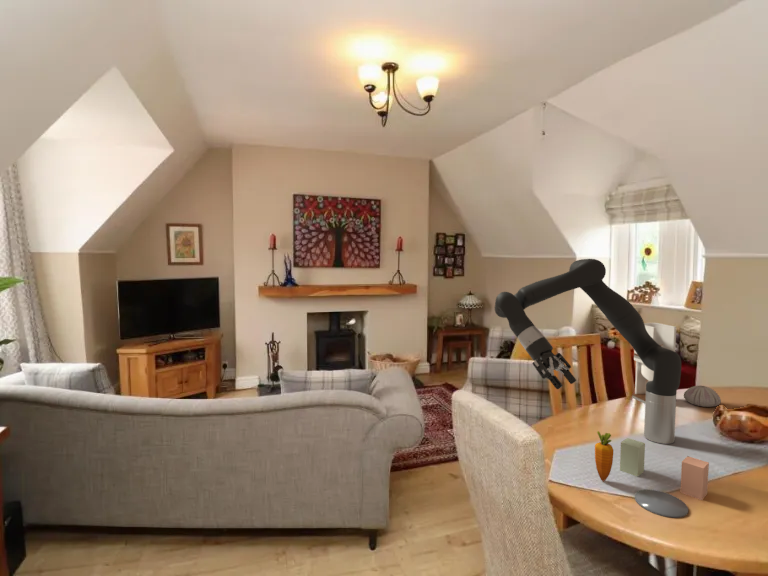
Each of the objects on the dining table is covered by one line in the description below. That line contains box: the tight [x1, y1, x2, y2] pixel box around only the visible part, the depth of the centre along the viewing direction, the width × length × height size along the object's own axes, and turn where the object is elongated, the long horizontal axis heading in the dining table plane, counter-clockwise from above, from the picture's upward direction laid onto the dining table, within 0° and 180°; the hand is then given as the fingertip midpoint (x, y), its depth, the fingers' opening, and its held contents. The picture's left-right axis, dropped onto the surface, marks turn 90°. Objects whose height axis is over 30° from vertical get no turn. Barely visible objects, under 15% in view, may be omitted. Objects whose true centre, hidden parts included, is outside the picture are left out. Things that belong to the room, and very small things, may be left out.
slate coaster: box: [634, 489, 689, 519], centre depth 114 cm, size 12×12×1 cm
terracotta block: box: [679, 455, 710, 501], centre depth 118 cm, size 5×5×9 cm
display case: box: [632, 322, 677, 405], centre depth 191 cm, size 11×11×35 cm
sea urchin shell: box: [683, 385, 722, 408], centre depth 189 cm, size 13×14×8 cm
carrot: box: [594, 431, 614, 482], centre depth 125 cm, size 5×5×15 cm
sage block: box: [619, 437, 646, 477], centre depth 131 cm, size 5×5×9 cm
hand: (567, 385), depth 132 cm, fingers open, 8 cm apart
